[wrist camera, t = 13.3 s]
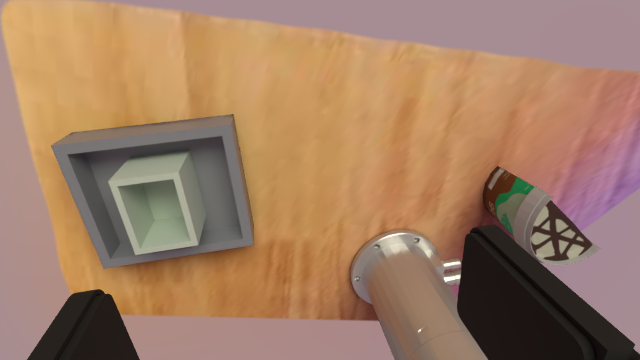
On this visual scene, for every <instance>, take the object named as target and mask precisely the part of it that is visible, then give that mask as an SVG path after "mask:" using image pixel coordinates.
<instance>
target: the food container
mask: <svg viewBox="0 0 640 360" xmlns="http://www.w3.org/2000/svg"><path fill="white" fill-rule="evenodd" d="M552 198H553V197H552V196H550V195H548V194H547V193H546V192H544V191H543V190H541V189H540V188H538V187H537V186H535V187H534V186H532V185H531V184H529V183H527V182H525V181H524V180H522V179H520V178H518V177H516V176H515V175H513V174H511V173H509V172H508V171H506V170H504V169H502V168H501V167H499V166H497V167H496V168H495V169H494V170H493V171H492V173H491V174H490V176H489V178H488V179H487V181H486V183H485V187H484V191H483V203H484V205H485V207H486V209H487V210H488V211H489V212H490V213H491V214H492V215H493V216H494V217H495V218H496V219H497V220H498V221H499V222H500V223H501V224H502V225H503V226H504V227H505V228H506V229H507V230H508V231H509V232H510V233H511V234H512V235H513V237H514V240H515V242H516V243H517V244H519V245H520V246H521V247H522V248H523V249H524V250H526V251H527V252H528V253H529V254H530V255H531V256H533V257H534V258H535V259H536V260H537V261H539V262H541V263H545V264H548V265H553V266H562V265H569V264H573V263H576V262H579V261H581V260H583V259H585V258H587V257H589V256H591V255H592V254H593V253H595V252H597V251H598V250H599V249H600V248H599V247H598V246H597V245H595V244H593V243H592V242H591V241H589V240H588V239H587V238H586V237H585V236H584V235H583V234H582V233H581V232H580V230H579V229H578V228H577V227H576V226H575V225H574V223H573V222H572V221H571V220H570V219H569V218H568V217H567V216H566V215H565V214H564V213H563V212H562V211H561V210H560V209H559V208H558V207H557V206H556V205H555V204H554V203H553V202H552V201H551V199H552Z"/></svg>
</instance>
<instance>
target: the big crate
mask: <svg viewBox="0 0 640 360" xmlns="http://www.w3.org/2000/svg"><path fill="white" fill-rule="evenodd" d="M51 147H52V149H53V152H54V154H55V156H56V159H57V161H58V163H59V166H60V168H61V170H62V173H63V175H64V177H65V180H66V182H67V184H68V187H69V189H70V191H71V194H72V196H73V198H74V201H75V203H76V205H77V208H78V210H79V212H80V215H81V217H82V219H83V222H84V224H85V226H86V229H87V231H88V233H89V236H90V238H91V240H92V243H93V245H94V247H95V250H96V252H97V254H98V257H99V259H100V261H101V264H102V266H103V268H104V269H105V268H111V267H117V266H124V265H130V264H136V263H143V262H149V261H155V260H162V259H168V258H174V257H181V256H187V255H193V254H200V253H206V252H213V251H219V250H225V249H232V248H238V247H244V246H251V245H254V224H253V219H252V213H251V208H250V202H249V197H248V192H247V186H246V181H245V175H244V170H243V164H242V159H241V154H240V148H239V143H238V137H237V132H236V127H235V121H234V116H233V115H224V116H215V117H206V118H197V119H189V120H180V121H171V122H162V123H153V124H145V125H136V126H127V127H118V128H109V129H101V130H92V131H83V132H74V133H71V134H69V135H67V136H66V137H64V138H63V139H61V140H59V141H58V142H56V143H54V144H53V145H51ZM184 150H190V152H191V156H192V160H193V164H194V168H195V172H196V176H197V180H198V184H199V188H200V192H201V196H202V200H203V204H204V208H205V212H206V218H205V222H204V225H203V229H202V233H201V237H200V241H199V245H197V246H191V247H184V248H178V249H171V250H165V251H158V252H152V253H145V254H139V255H135V253H134V250H133V247H132V245H131V242H130V239H129V236H128V234H127V231H126V228H125V226H124V223H123V220H122V218H121V215H120V212H119V210H118V207H117V204H116V201H115V199H114V196H113V193H112V191H111V188H110V185H109V183H108V181H109V180H110V179H111V177H112V176H113V175H114V174H115V173H116V172H117V171H118V170H119V169H120V168H121V167H122V166H123V164H124V163H125V162H126V161H127V160H128V159H129V158H130V157H135V156H144V155H152V154H160V153H168V152H176V151H184Z"/></svg>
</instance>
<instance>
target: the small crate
mask: <svg viewBox="0 0 640 360" xmlns="http://www.w3.org/2000/svg"><path fill="white" fill-rule="evenodd" d="M108 183H109V185H110V188H111V191H112V193H113V196H114V199H115V201H116V204H117V207H118V210H119V212H120V215H121V218H122V220H123V223H124V226H125V228H126V231H127V234H128V236H129V239H130V242H131V245H132V247H133V250H134V253H135V255H139V254H145V253H152V252H158V251H165V250H171V249H178V248H184V247H191V246H197V245H199V241H200V237H201V233H202V229H203V225H204V222H205V218H206V212H205V208H204V204H203V200H202V196H201V192H200V188H199V184H198V180H197V176H196V172H195V168H194V164H193V160H192V156H191V152H190V150H184V151H176V152H168V153H160V154H152V155H144V156H135V157H130V158H129V159H128V160H127V161H126V162H125V163H124V164H123V166H122V167H121V168H120V169H119V170H118V171H117V172H116V173H115V174H114V175H113V176H112V177H111V179H110V180H109V181H108Z"/></svg>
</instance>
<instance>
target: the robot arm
mask: <svg viewBox="0 0 640 360" xmlns="http://www.w3.org/2000/svg"><path fill="white" fill-rule="evenodd" d="M460 267H461V263H460V260H459V259H458V258H454V259H448V260H445V261H442V260H441V259H439V256H438V253H437V250H436V248H435V247H434V245H433V244H432V243H431V241H430V240H429V239H428V238H427V237H425V236H424V235H422V234H420V233H418V232H416V231H411V230H394V231H389V232H386V233H383V234H381V235H379V236H377V237H375V238H373V239H372V240H370V241H369V242H368V243H366V244H365V245H364V246H363V247H362V248H361V249H360V250H359V252H358V253H357V255H356V256H355V258H354V260H353V262H352V266H351V270H350V278H351V282H352V285H353V288H354V290H355V292H356V293H357V295H358V296H359V297H360V298H361V299H362V300H364V301H366V302H367V303H369V304H372V305H373V307H374V310H375V312H376V315H377V317H378V320H379V322H380V325H381V327H382V329H383V332H384V334H385V337H386V339H387V342H388V344H389V346H390V349H391V352H392V354H393V356H394V359H395V360H640V354H638V352H636V351H635V350H634V349H633V348H634V346H635V344H634V343H633V342H632V341H630V340H629V339H628V338H627V337H626V336H625V335H624V334H622V333H621V332H620V331H619V330H618V329H617V328H615V327H614V326H613V325H612V324H611V323H609V322H608V321H607V320H606V319H605V318H604V317H603V316H601V315H600V314H599V313H598V312H597V311H596V310H594V309H593V308H592V307H591V306H590V305H588V304H587V303H586V302H585V301H584V300H583V299H582V298H580V297H579V296H578V295H577V294H576V293H574V292H573V291H572V290H571V289H570V288H569V287H568V286H566V285H565V284H564V283H563V282H562V281H560V280H559V279H558V278H557V277H556V276H555V275H554V274H552V273H551V272H550V271H549V270H548V269H547V268H545V267H544V266H543V265H542V264H541V263H540V262H538V261H537V260H536V259H535V258H534V257H533V256H531V255H530V254H529V253H528V252H527V251H526V250H524V249H523V248H522V247H521V246H520V245H519V244H517V243H516V242H515V241H514V240H513V239H512V238H510V237H509V236H508V235H507V234H506V233H505V232H503V231H502V230H501V229H500V228H499V227H497V226H496V225H487V226H481V227H475V228H473V229H472V230H471V231H470V234H467V235H466V238H465V244H464V252H463V260H462V268H461V270H455V271H450V272H448V273H444V271H445V270H448V269H450V270H451V269H457V268H460ZM449 285H459V292H458V298H457V297H456V295H455V294H454V292H453V291H452V290H451V288H450V287H449ZM27 360H140V359H139V357H138V355H137V352H136V350H135V348H134V346H133V343H132V341H131V339H130V337H129V334H128V332H127V330H126V327H125V325H124V323H123V320H122V318H121V316H120V313H119V311H118V309H117V306H116V304H115V302H114V300H113V297H112V296H111V295H110V294H105V293H104V292H103V291H102V290H100V289H97V290H91V291H85V292H79V293H74V294H72V295H71V296H70V297H69V298H68V300H67V301H66V303H65V304H64V306H63V307H62V309H61V310H60V312H59V313H58V315H57V316H56V317H55V319H54V320H53V322H52V323H51V325H50V326H49V328H48V330H47V331H46V333H45V334H44V335H43V337H42V338H41V340H40V341H39V343H38V344H37V346H36V347H35V349H34V350H33V352H32V353H31V355H30V356H29V358H28V359H27Z"/></svg>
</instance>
